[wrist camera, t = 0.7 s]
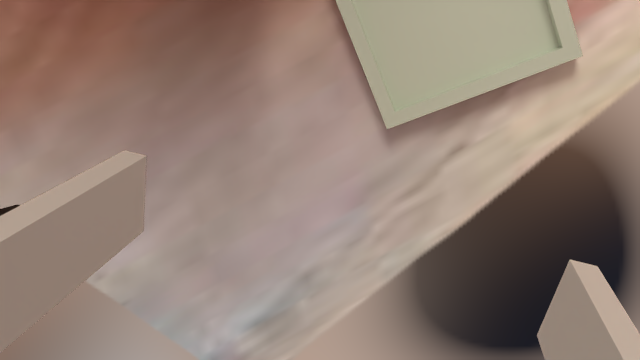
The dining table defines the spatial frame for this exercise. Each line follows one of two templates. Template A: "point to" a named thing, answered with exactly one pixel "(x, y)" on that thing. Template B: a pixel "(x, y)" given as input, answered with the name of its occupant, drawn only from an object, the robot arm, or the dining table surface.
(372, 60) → the tray
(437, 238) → the dining table surface
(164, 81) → the dining table surface
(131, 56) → the dining table surface
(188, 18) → the dining table surface
